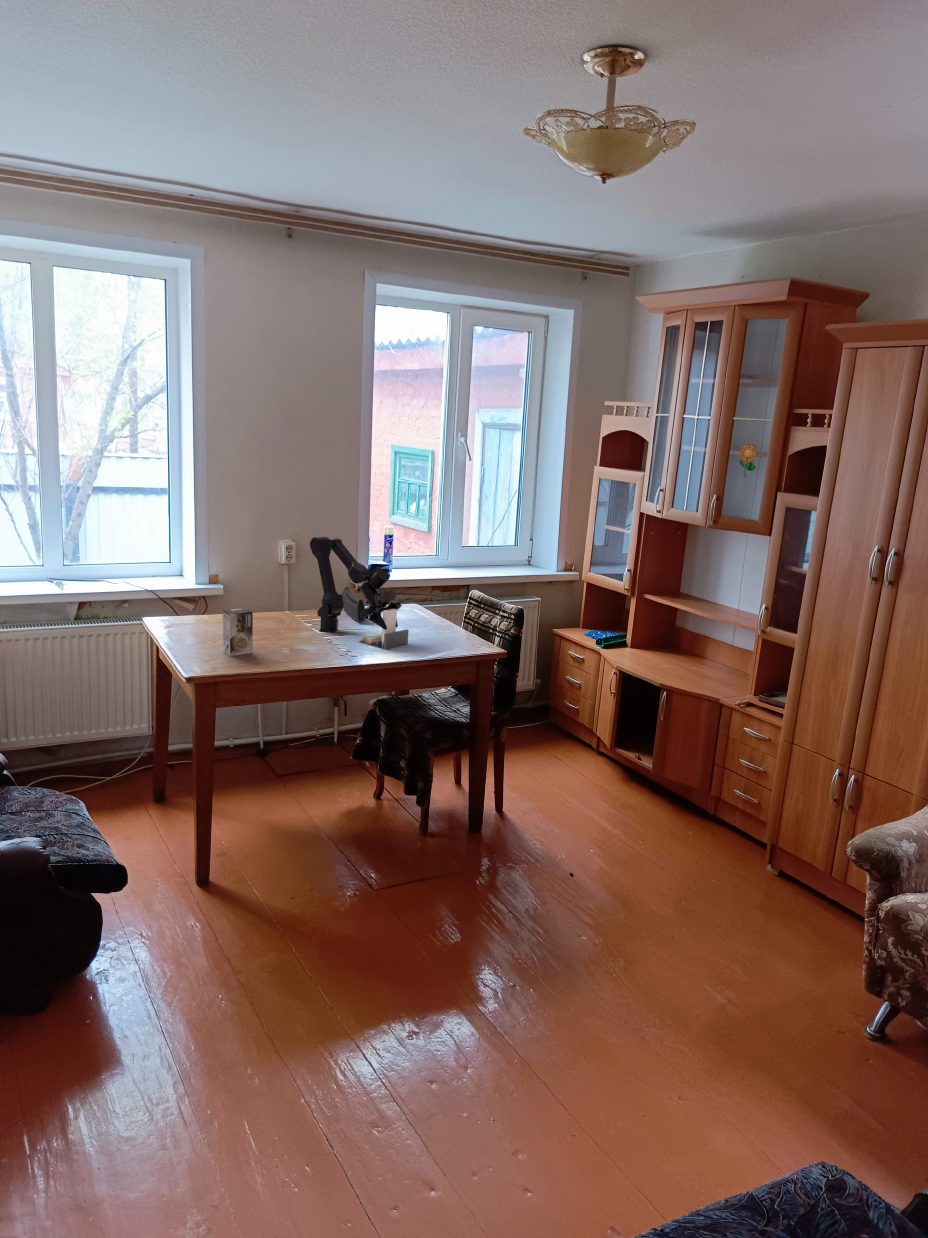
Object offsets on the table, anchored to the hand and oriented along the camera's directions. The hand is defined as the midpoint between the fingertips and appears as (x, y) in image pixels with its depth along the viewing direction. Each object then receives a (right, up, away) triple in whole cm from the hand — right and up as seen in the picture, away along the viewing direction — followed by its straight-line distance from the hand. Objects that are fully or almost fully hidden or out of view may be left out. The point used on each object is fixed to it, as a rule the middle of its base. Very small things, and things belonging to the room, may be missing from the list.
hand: (391, 628), depth 343 cm
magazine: (-22, +4, +50) cm, 55 cm away
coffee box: (-55, -9, -20) cm, 60 cm away
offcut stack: (-7, -5, +6) cm, 11 cm away
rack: (-4, -7, +4) cm, 9 cm away
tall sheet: (-2, -7, +2) cm, 7 cm away
